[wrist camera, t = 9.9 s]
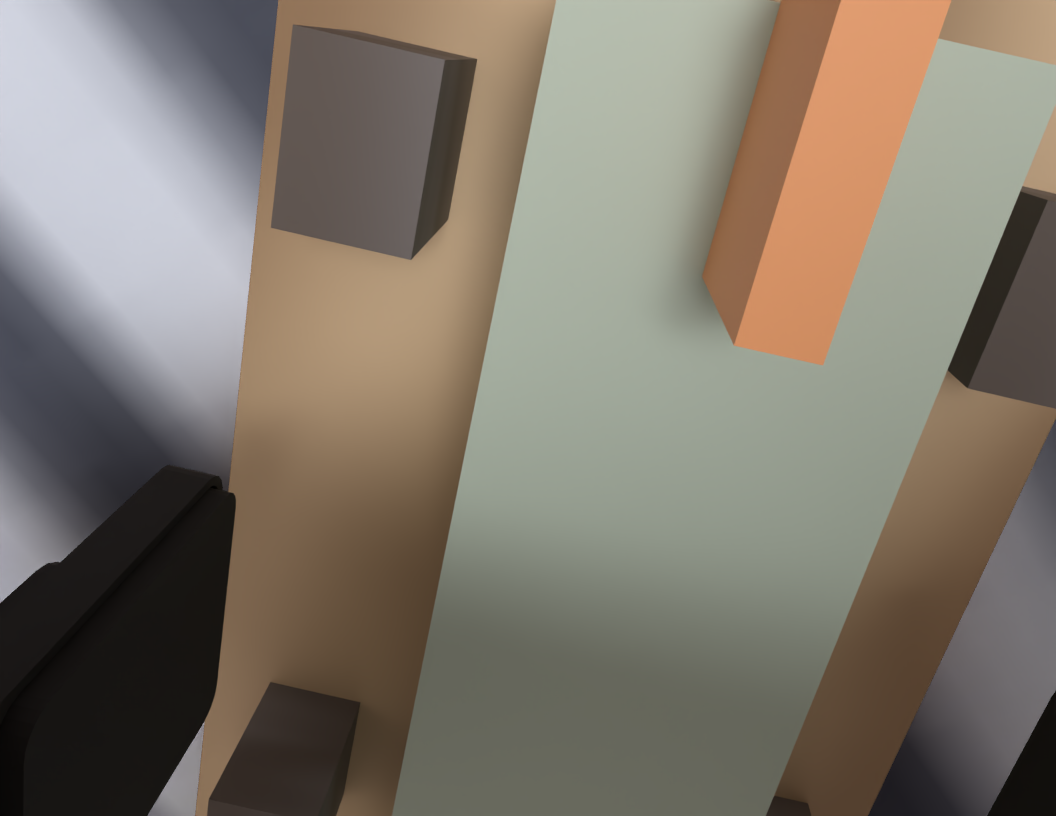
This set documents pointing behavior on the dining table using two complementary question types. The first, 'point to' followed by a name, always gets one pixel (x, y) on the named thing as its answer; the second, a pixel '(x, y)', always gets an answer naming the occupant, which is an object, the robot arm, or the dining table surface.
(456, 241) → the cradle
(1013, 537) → the dining table surface
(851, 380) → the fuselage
